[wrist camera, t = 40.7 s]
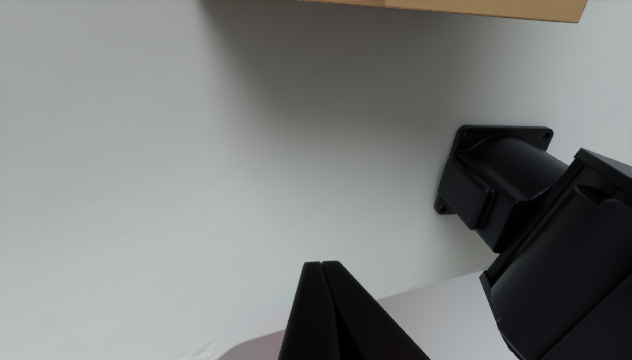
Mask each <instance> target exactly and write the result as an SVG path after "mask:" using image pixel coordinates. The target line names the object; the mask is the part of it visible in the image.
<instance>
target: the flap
mask: <svg viewBox="0 0 632 360" xmlns="http://www.w3.org/2000/svg"><path fill="white" fill-rule="evenodd" d="M587 1H588V0H383V1H382V6H383V7H387V8H399V9H411V10H423V11H435V12H447V13H459V14H471V15H483V16H495V17H507V18H519V19H531V20H542V21H554V22H566V23H578V22H579V20H580V18H581V15H582V13H583V11H584V8H585V6H586V4H587Z"/></svg>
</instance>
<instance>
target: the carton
mask: <svg viewBox="0 0 632 360" xmlns="http://www.w3.org/2000/svg"><path fill="white" fill-rule="evenodd" d="M296 1H309V2H321V3H333V4H345V5H357V6H369V7H381V8H387V7H383V6H382V1H383V0H296ZM393 9H399V8H393ZM405 10H411V9H405ZM417 11H423V10H417ZM429 12H435V11H429ZM441 13H447V12H441ZM453 14H459V13H453ZM465 15H471V14H465ZM477 16H483V15H477ZM489 17H495V16H489ZM501 18H507V17H501ZM513 19H519V18H513ZM525 20H531V19H525ZM538 21H542V20H538ZM550 22H554V21H550Z"/></svg>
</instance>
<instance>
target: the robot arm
mask: <svg viewBox="0 0 632 360" xmlns="http://www.w3.org/2000/svg"><path fill="white" fill-rule="evenodd" d="M467 131H468V134H467V135H466V136H464V134H465V133H466V132H467ZM544 134H545V135H544ZM553 134H554V133H553V130H552V129H550V128H548V127H541V126H497V125H463V126H462V127H460V128H459V129H458V131H457V134H456V137H455V140H454V144H453V147H452V150H451V153H450V157H449V159H448V160H447V163H446V166H445V170H444V173H443V176H442V179H441V183H440V186H439V189H438V196H437V199H436V202H435V205H434V208H435V210H436V212H437V213H438V214H441V215H445V214H457V215H458V216H459V217H460V219H461V220H462V221H463V222H464V223H465V224H466V226H467V227H468V228H469V229H470V230H475V231H476V232H477V233H478V234H479V236H480V237H481V238H482V239H483V240H484V241H485V243H486V244H487V245H488V246H489V247H490V248H491V250H492V251H493V252H494V253H500V254H499V256H498V257H497V258H496V259H495V261H494V262H493V263H492V265H491V266H490V267H489V268H488V270H485V271H484V272H483V273H482V274H481V276H480V277H479V278H480V281H481V284H482V286H483V289H484V292H485V294H486V297H487V300H488V302H489V305H490V307H491V310H492V313H493V315H494V318H495V320H496V323H497V327H498V330H499V331H500V333H501V335H502V337H503V340H504V341H505V343H506V344H507V346H508V348H509V349H510V351H512V352H513V353H514V354H515V356H516V357H517V358H518V359H519V360H632V166H629V165H626V164H624V163H621V162H618V161H616V160H613V159H610V158H608V157H605V156H602V155H600V154H597V153H594V152H592V151H589V150H586V149H584V148H580V149H579V151H578V152H577V153H576V155H575V156H574V158H575V159H574V161H573V162H572V163H571V164H570V166H568V165H566V164H565V163H563V162H561V161H560V160H558V159H557V158H555V157H553V156H552V155H550V154H548V153H547V152H546V150H547V148H548V146H549V144H550V142H551V139H552V137H553ZM543 135H544V136H543ZM542 136H543V137H542ZM442 206H444V207H443V208H441V207H442ZM278 360H430V358H429V357H428V356H427V355H426V354H425V353H424V352H423V351H422V350H421V349H420V348H419V347H418V346H417V344H416V343H415V342H414V341H413V340H412V339H411V338H410V337H409V336H408V335H407V334H406V333H405V331H404V330H403V329H402V328H401V327H400V326H399V325H398V324H397V323H396V322H395V321H394V320H393V319H392V318H391V317H390V315H389V314H388V313H387V312H386V311H385V310H384V309H383V308H382V307H381V306H380V305H379V304H378V303H377V301H376V300H375V299H374V298H373V297H372V296H371V295H370V294H369V293H368V292H367V291H366V290H365V289H364V287H363V286H362V285H361V284H360V283H359V282H358V281H357V280H356V279H355V278H354V277H353V276H352V275H351V274H350V272H349V271H348V270H347V269H346V268H345V267H344V266H343V265H342V264H341V263H340V262H339V261H323V262H322V263H321V262H319V261H316V262H305V263H304V265H303V268H302V272H301V276H300V279H299V283H298V287H297V290H296V294H295V298H294V301H293V305H292V309H291V313H290V316H289V320H288V324H287V327H286V331H285V335H284V339H283V342H282V346H281V350H280V353H279V357H278Z"/></svg>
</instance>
